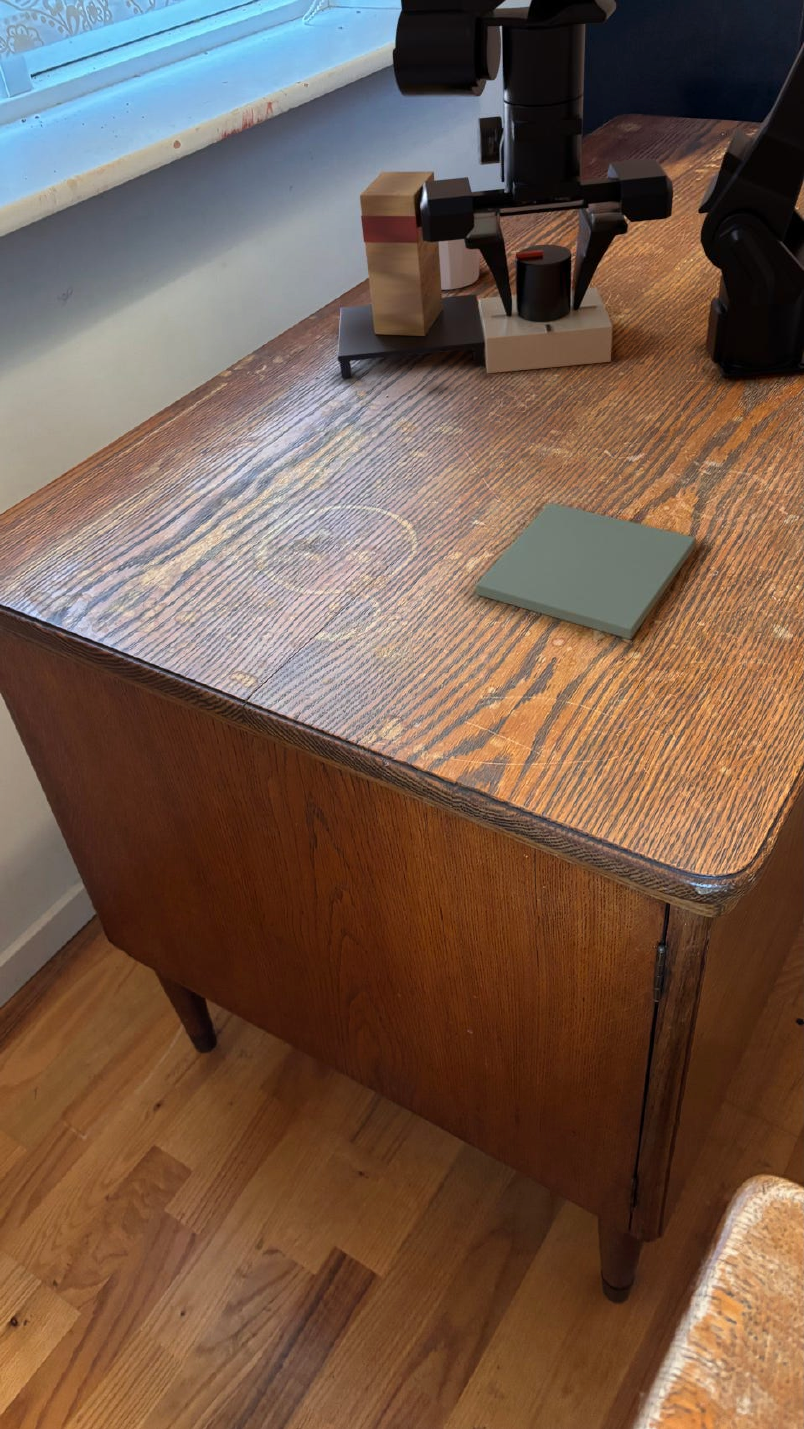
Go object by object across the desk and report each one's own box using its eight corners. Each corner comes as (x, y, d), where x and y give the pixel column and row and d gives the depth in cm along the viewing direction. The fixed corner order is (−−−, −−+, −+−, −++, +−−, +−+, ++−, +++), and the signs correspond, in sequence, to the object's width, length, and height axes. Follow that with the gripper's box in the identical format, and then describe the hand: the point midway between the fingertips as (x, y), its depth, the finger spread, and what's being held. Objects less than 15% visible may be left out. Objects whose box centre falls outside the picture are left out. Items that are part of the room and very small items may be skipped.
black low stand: (477, 316, 93) (476, 294, 92) (485, 365, 86) (484, 342, 85) (343, 329, 94) (340, 307, 93) (340, 379, 87) (337, 356, 85)
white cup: (403, 290, 99) (396, 212, 95) (429, 262, 104) (423, 187, 99) (471, 294, 97) (467, 215, 92) (495, 266, 102) (492, 189, 97)
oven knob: (566, 297, 87) (567, 238, 84) (574, 319, 84) (575, 258, 81) (513, 303, 87) (512, 243, 84) (519, 324, 84) (518, 263, 81)
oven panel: (595, 320, 91) (596, 283, 88) (611, 363, 84) (613, 325, 82) (479, 331, 91) (478, 295, 89) (487, 375, 85) (486, 337, 83)
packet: (443, 308, 90) (434, 171, 83) (425, 337, 87) (414, 195, 79) (394, 307, 92) (381, 171, 84) (374, 335, 88) (358, 195, 80)
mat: (549, 512, 70) (549, 501, 69) (695, 547, 65) (696, 537, 65) (476, 595, 64) (475, 584, 63) (630, 640, 59) (631, 629, 59)
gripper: (651, 56, 81) (637, 263, 91) (409, 82, 81) (423, 284, 92) (683, 93, 72) (664, 315, 83) (414, 121, 73) (429, 338, 84)
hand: (541, 311), depth 86 cm, fingers open, 5 cm apart
